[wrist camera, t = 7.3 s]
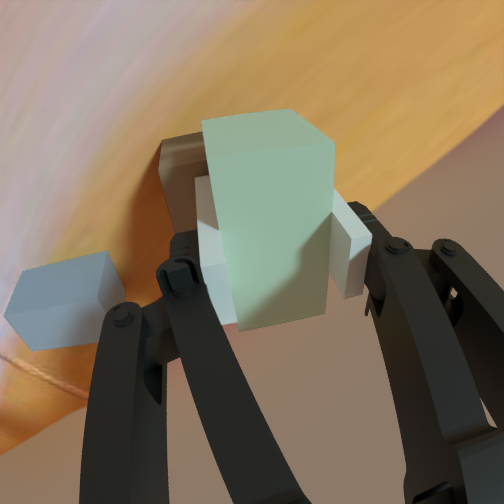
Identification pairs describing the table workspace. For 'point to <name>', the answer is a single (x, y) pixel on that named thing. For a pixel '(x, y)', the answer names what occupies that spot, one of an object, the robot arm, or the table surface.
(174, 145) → the walnut block
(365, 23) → the table surface
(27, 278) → the slate block
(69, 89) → the table surface
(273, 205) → the sage block
